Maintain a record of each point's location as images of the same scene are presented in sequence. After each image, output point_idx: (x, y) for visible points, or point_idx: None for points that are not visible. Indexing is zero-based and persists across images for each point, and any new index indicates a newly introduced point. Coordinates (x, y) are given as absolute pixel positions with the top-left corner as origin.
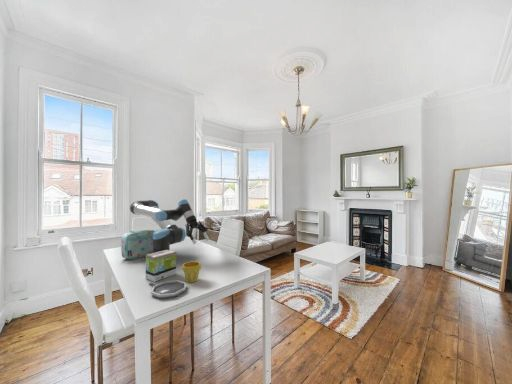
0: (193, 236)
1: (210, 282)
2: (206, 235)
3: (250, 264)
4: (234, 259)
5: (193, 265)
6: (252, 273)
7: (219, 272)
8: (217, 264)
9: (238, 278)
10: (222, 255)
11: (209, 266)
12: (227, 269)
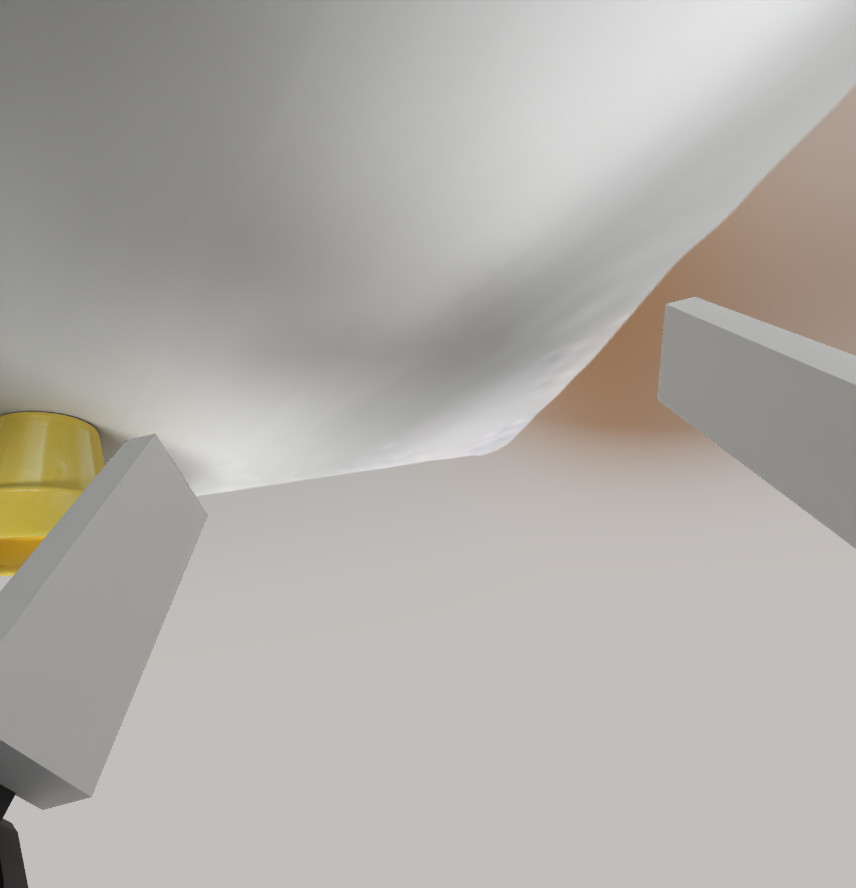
0: (113, 702)
1: (178, 468)
2: (756, 450)
3: (533, 398)
4: (607, 290)
5: (58, 503)
6: (421, 458)
7: (302, 411)
8: (408, 302)
9: (332, 470)
10: (770, 62)
11: (311, 301)
12: (378, 399)
